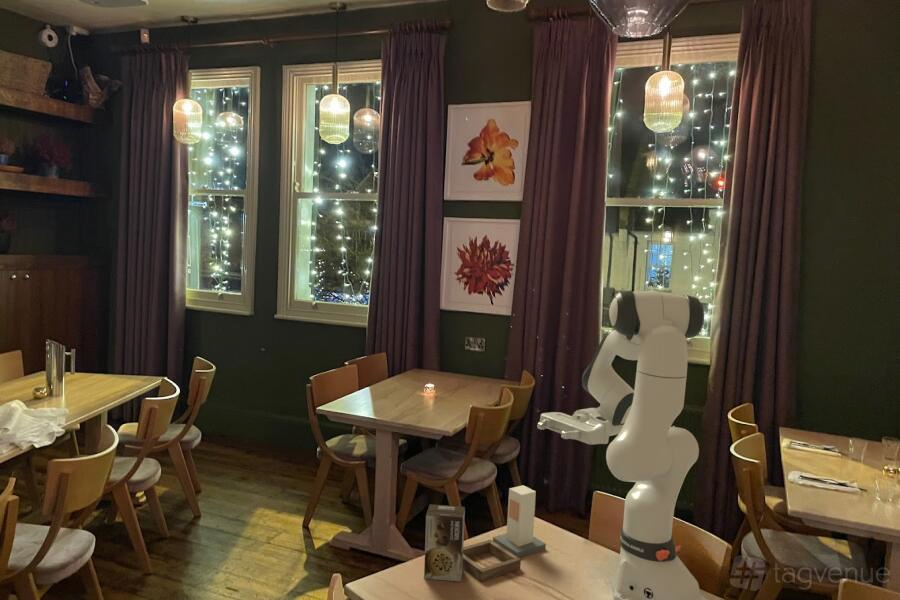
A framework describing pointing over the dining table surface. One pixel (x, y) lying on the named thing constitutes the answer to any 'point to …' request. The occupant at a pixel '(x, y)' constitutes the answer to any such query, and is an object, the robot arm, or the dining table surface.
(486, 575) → the walnut crate
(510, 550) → the blue-grey square slab
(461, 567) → the coffee box
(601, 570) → the dining table surface
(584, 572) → the dining table surface
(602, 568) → the dining table surface
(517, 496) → the off-white box
